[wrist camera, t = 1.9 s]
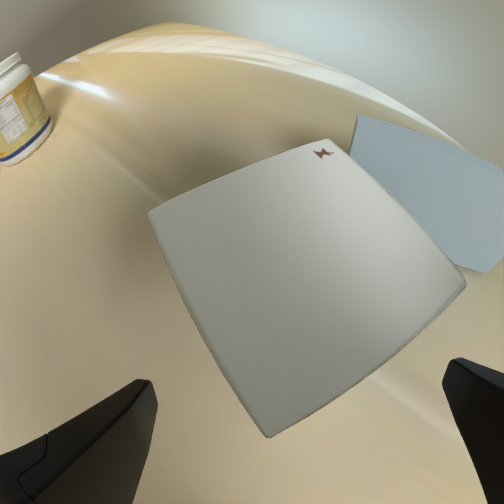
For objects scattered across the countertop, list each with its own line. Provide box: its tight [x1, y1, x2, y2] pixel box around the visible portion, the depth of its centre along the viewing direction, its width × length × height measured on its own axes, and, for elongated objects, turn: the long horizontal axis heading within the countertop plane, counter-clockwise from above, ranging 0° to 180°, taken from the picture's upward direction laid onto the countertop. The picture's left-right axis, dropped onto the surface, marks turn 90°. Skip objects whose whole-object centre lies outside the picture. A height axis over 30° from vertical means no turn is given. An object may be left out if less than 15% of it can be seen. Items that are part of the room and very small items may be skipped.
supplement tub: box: [0, 52, 52, 166], centre depth 28 cm, size 12×12×17 cm
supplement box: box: [148, 138, 466, 438], centre depth 13 cm, size 7×7×13 cm
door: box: [348, 114, 504, 273], centre depth 17 cm, size 16×2×10 cm, turn 73°
